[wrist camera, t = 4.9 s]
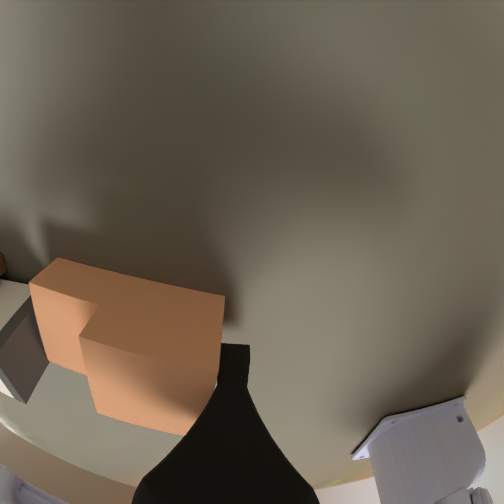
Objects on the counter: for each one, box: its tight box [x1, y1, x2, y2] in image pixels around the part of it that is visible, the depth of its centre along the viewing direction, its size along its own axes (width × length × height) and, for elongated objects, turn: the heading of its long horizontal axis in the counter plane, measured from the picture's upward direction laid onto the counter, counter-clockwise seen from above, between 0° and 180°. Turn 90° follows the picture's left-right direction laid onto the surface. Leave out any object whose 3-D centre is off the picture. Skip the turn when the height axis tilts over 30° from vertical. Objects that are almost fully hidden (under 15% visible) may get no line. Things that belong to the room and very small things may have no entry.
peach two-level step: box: [29, 257, 225, 436], centre depth 10 cm, size 8×4×4 cm, turn 77°
